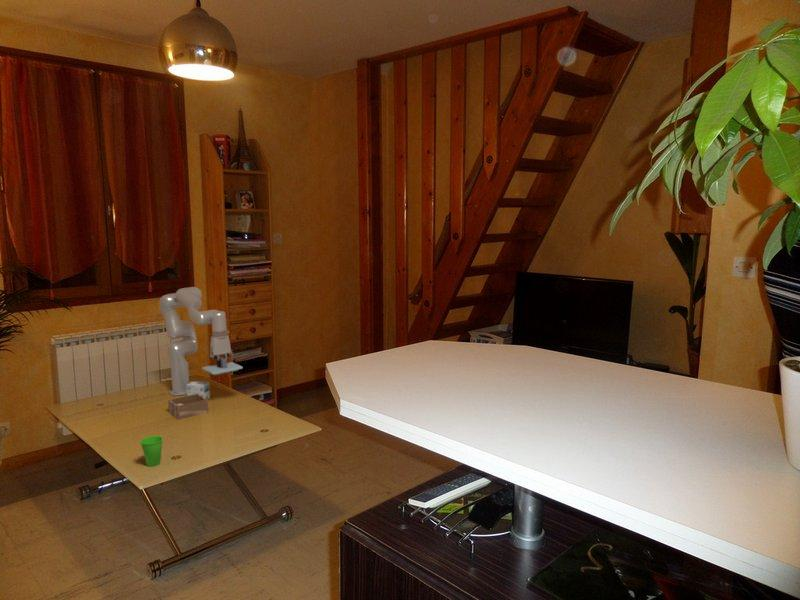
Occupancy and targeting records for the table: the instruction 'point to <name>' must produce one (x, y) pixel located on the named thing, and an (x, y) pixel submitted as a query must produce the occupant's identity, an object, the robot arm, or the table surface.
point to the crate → (188, 406)
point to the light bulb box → (198, 389)
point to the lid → (222, 367)
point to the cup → (152, 449)
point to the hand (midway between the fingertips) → (222, 366)
